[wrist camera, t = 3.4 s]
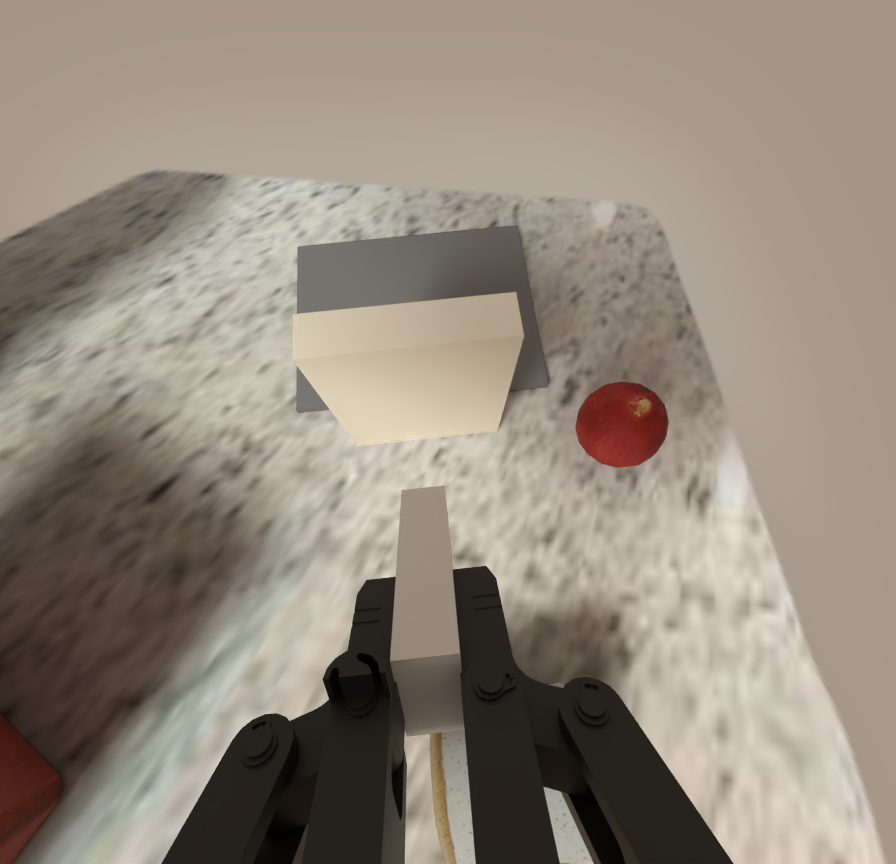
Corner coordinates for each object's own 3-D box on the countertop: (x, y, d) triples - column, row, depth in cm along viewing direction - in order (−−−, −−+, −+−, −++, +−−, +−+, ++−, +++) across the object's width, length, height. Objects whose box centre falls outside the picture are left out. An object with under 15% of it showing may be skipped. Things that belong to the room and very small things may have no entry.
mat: (547, 386, 35) (548, 384, 35) (298, 412, 35) (296, 410, 34) (516, 229, 40) (517, 225, 40) (299, 250, 40) (297, 246, 39)
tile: (356, 445, 34) (292, 359, 20) (355, 413, 35) (292, 309, 21) (497, 430, 34) (524, 335, 21) (492, 398, 35) (515, 287, 22)
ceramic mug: (429, 691, 28) (421, 733, 21) (553, 668, 29) (587, 702, 21) (457, 897, 25) (459, 1032, 18) (596, 869, 25) (653, 991, 18)
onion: (590, 392, 35) (628, 340, 27) (655, 433, 34) (713, 390, 26) (551, 448, 33) (578, 409, 26) (616, 493, 32) (666, 466, 25)
